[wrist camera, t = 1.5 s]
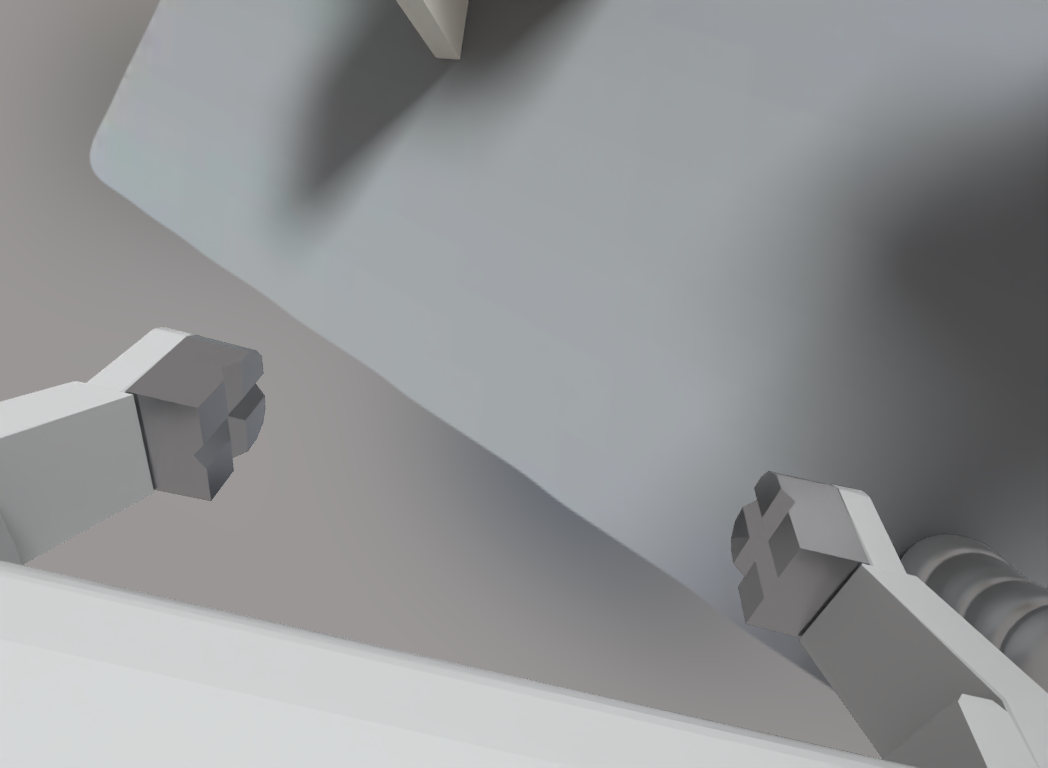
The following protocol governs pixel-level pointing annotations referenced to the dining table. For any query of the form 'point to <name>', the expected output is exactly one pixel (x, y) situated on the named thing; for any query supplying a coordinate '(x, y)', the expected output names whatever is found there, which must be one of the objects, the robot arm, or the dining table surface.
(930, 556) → the silver water bottle
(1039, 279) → the dining table surface
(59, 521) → the robot arm
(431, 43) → the door
